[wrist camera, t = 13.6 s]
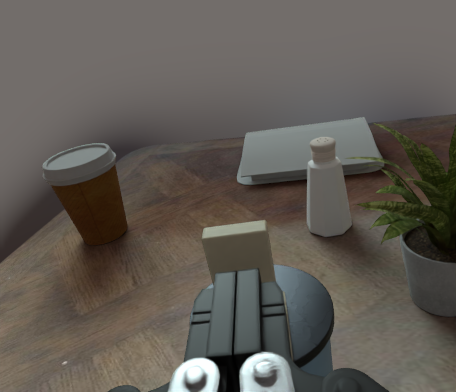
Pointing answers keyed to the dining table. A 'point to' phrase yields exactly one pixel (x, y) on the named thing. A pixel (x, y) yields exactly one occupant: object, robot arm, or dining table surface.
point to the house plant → (424, 225)
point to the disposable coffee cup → (89, 191)
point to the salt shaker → (326, 191)
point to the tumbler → (306, 319)
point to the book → (305, 151)
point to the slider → (240, 250)
